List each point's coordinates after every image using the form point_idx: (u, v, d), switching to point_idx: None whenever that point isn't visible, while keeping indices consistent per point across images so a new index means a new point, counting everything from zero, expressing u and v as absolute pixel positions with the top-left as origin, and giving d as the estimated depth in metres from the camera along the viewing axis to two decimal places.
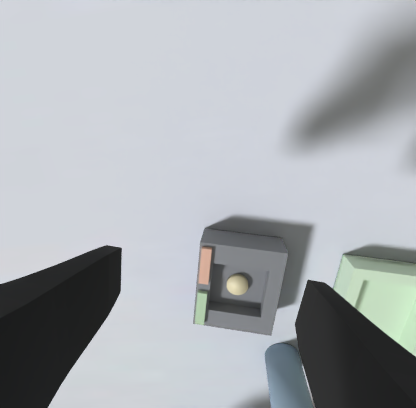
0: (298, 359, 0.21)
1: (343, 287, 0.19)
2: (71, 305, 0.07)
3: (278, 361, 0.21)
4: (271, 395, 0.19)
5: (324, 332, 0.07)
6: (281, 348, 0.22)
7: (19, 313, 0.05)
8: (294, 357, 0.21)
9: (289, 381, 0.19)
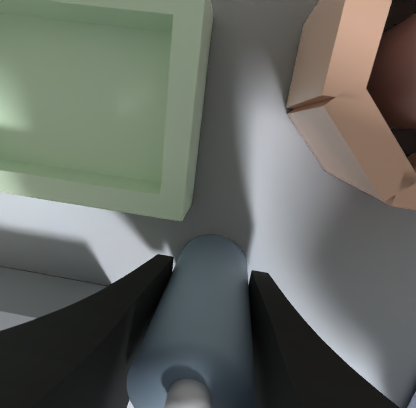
0: (185, 253, 0.10)
1: None
2: (141, 318, 0.07)
3: None
4: None
5: (255, 319, 0.08)
6: None
7: (114, 331, 0.05)
8: (177, 261, 0.10)
9: None
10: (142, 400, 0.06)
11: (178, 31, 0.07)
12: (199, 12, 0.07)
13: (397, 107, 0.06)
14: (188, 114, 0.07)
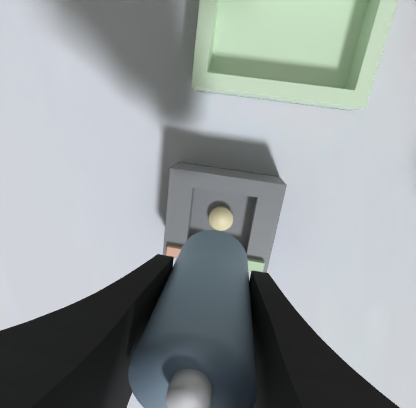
0: (188, 246, 0.10)
1: (226, 92, 0.15)
2: (141, 319, 0.07)
3: None
4: None
5: (255, 319, 0.08)
6: None
7: (114, 331, 0.05)
8: (180, 254, 0.10)
9: None
10: (143, 388, 0.06)
11: None
12: None
13: None
14: (384, 36, 0.13)
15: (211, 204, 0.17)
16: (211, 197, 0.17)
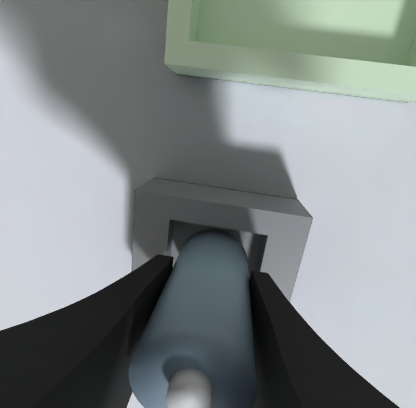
0: (188, 246, 0.10)
1: (220, 73, 0.10)
2: (141, 319, 0.07)
3: None
4: None
5: (255, 319, 0.08)
6: None
7: (114, 332, 0.05)
8: (180, 254, 0.10)
9: None
10: (143, 388, 0.06)
11: None
12: None
13: None
14: None
15: None
16: (199, 230, 0.11)
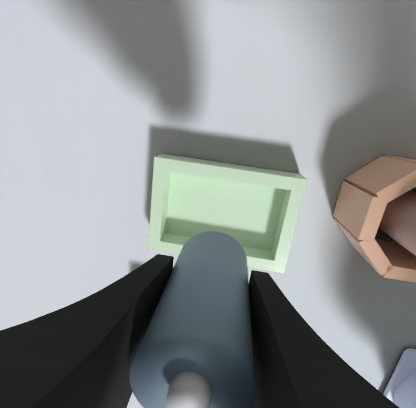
0: (189, 247, 0.10)
1: None
2: (142, 318, 0.07)
3: None
4: None
5: (255, 319, 0.08)
6: None
7: (114, 332, 0.05)
8: (180, 255, 0.10)
9: None
10: (143, 389, 0.06)
11: (292, 196, 0.16)
12: (303, 190, 0.16)
13: (386, 233, 0.15)
14: (293, 228, 0.16)
15: None
16: None
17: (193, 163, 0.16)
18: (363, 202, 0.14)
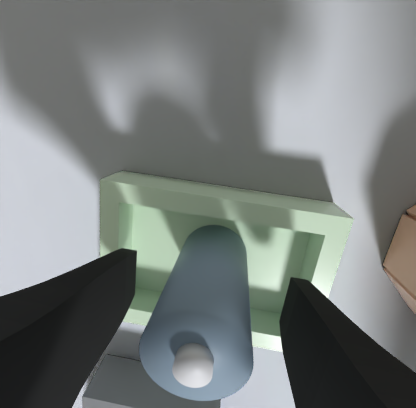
0: (192, 239, 0.11)
1: None
2: (91, 309, 0.07)
3: None
4: None
5: (303, 328, 0.08)
6: None
7: (47, 318, 0.05)
8: (184, 246, 0.11)
9: None
10: (151, 360, 0.07)
11: (327, 245, 0.10)
12: (345, 236, 0.09)
13: None
14: (326, 293, 0.10)
15: None
16: None
17: (163, 190, 0.10)
18: None
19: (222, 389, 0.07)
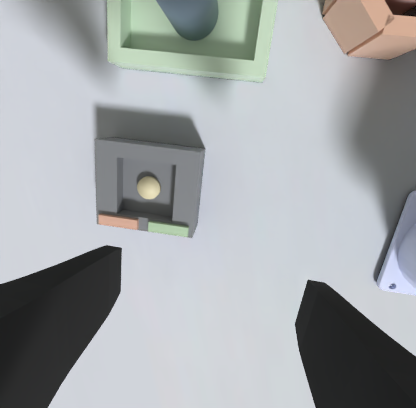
0: None
1: (143, 66, 0.16)
2: (70, 305, 0.07)
3: None
4: (170, 12, 0.12)
5: (324, 332, 0.07)
6: None
7: (19, 313, 0.05)
8: None
9: None
10: None
11: None
12: None
13: None
14: (274, 9, 0.14)
15: (139, 174, 0.18)
16: (139, 168, 0.18)
17: None
18: None
19: None
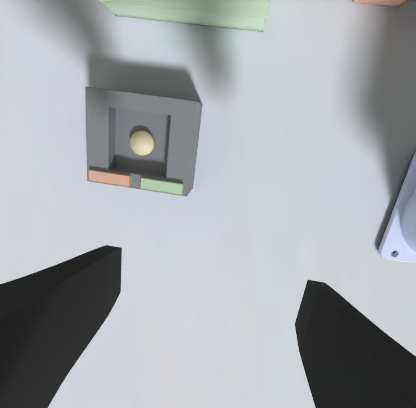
0: None
1: (137, 9, 0.15)
2: (71, 305, 0.07)
3: None
4: None
5: (324, 332, 0.07)
6: None
7: (18, 313, 0.05)
8: None
9: None
10: None
11: None
12: None
13: None
14: None
15: (133, 129, 0.17)
16: (132, 121, 0.17)
17: None
18: None
19: None
